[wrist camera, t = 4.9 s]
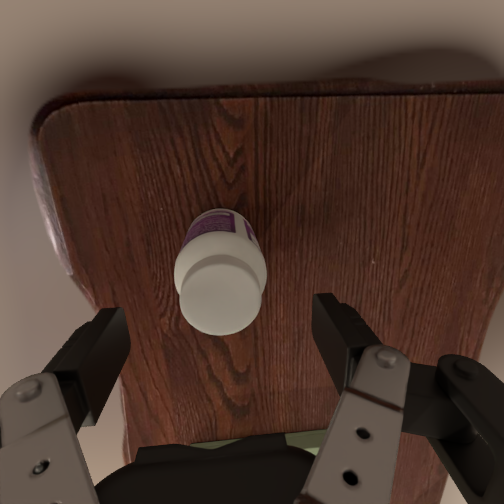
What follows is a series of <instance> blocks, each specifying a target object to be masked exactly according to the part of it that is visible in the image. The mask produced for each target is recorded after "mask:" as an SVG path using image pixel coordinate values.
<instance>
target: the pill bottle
mask: <svg viewBox="0 0 504 504" xmlns="http://www.w3.org/2000/svg"><path fill="white" fill-rule="evenodd" d="M266 278H267V271H266V264H265V260H264V258H263V255H262V253H261V250H260V247H259V244H258V242H257V239H256V236H255V234H254V232H253V229H252V227H251V225H250V224H249V222H248V221H247V220H246V219H245V218H244V217H243V216H242V215H240V214H239V213H237V212H235V211H232V210H229V209H213V210H209V211H207V212H205V213H203V214H201V215H200V216H198V217H197V218H196V219H195V220H194V222H193V223H192V224H191V226H190V228H189V230H188V232H187V235H186V237H185V240H184V242H183V245H182V248H181V250H180V253H179V255H178V257H177V259H176V263H175V270H174V280H175V285H176V288H177V291H178V293H179V295H180V307H181V311H182V313H183V315H184V317H185V318H186V320H187V321H188V322H189V323H190V324H191V325H192V326H193V327H195V328H196V329H198V330H200V331H202V332H204V333H207V334H211V335H228V334H232V333H236V332H238V331H240V330H242V329H244V328H245V327H247V326H248V325H249V324H250V323H251V322H252V321H253V320H254V319H255V317H256V316H257V314H258V312H259V309H260V306H261V295H262V293H263V290H264V288H265V284H266Z"/></svg>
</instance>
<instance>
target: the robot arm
mask: <svg viewBox="0 0 504 504" xmlns="http://www.w3.org/2000/svg"><path fill="white" fill-rule="evenodd" d="M312 334H313V338H314V341H315V343H316V345H317V347H318V349H319V352H320V354H321V356H322V358H323V360H324V363H325V365H326V367H327V369H328V371H329V374H330V376H331V378H332V380H333V382H334V385H335V387H336V389H337V391H338V393H339V396H340V399H339V402H338V404H337V407H336V409H335V412H334V414H333V416H332V419H331V421H330V424H329V426H328V429H327V431H326V433H325V436H324V438H323V441H322V443H321V446H320V448H319V450H318V453H317V455H314V454H313V453H311V452H309V451H306V450H304V449H302V448H298V447H295V446H290V445H287V442H286V437H285V432H283V433H274V434H264V435H255V436H248V437H246V438H243V439H240V440H237V441H235V442H232V443H229V444H226V445H224V446H221V447H218V448H215V449H205V448H199V447H193V446H187V445H181V444H168V445H158V446H148V447H139V448H138V452H137V455H136V459H135V462H132V463H130V464H128V465H126V466H124V467H122V468H120V469H118V470H116V471H115V472H113V473H111V474H110V475H109V476H107V477H106V478H104V479H103V480H102V481H100V482H99V483H98V484H97V485H96V486H94V485H93V482H92V479H91V476H90V473H89V470H88V467H87V464H86V461H85V458H84V455H83V453H82V450H81V447H80V444H79V441H78V438H77V433H78V431H79V429H80V427H86V426H95V425H96V423H97V421H98V418H99V416H100V414H101V412H102V410H103V408H104V406H105V404H106V402H107V399H108V397H109V395H110V393H111V391H112V389H113V387H114V384H115V382H116V380H117V378H118V376H119V374H120V372H121V370H122V368H123V365H124V363H125V361H126V359H127V357H128V355H129V352H130V345H131V342H130V335H129V331H128V326H127V322H126V317H125V313H124V310H123V308H122V307H116V308H103V309H101V310H100V311H99V312H98V313H97V315H96V316H95V318H94V319H93V320H92V321H90V322H87V323H85V324H84V325H82V326H81V327H79V328H78V329H76V330H75V332H74V333H73V334H72V335H71V337H70V338H69V340H68V341H66V343H65V344H64V345H63V346H62V348H61V349H60V350H59V351H58V352H57V354H56V355H55V356H54V357H53V358H52V360H51V361H50V362H49V363H48V364H47V366H46V367H45V368H44V370H43V371H42V372H41V373H38V374H34V375H31V376H29V377H26V378H24V379H22V380H20V381H18V382H16V383H15V384H13V385H12V386H11V387H9V388H8V389H7V390H6V391H5V392H4V393H3V395H2V396H1V398H0V504H390V497H391V491H392V485H393V478H394V472H395V465H396V459H397V453H398V446H399V440H400V434H401V432H406V433H411V434H416V435H421V436H426V438H427V439H428V441H429V442H430V444H431V446H432V447H433V449H434V450H435V452H436V454H437V455H438V457H439V458H440V460H441V462H442V463H443V465H444V466H445V468H446V470H447V471H448V473H449V474H450V476H451V477H452V479H453V481H454V482H455V484H456V485H457V487H458V489H459V491H460V492H461V494H462V495H463V497H464V499H465V500H466V502H467V503H468V504H504V383H503V382H502V381H500V380H499V379H498V378H497V377H496V376H495V375H494V374H493V373H492V372H491V371H490V370H488V369H487V368H486V367H485V366H484V365H482V364H481V363H479V362H477V361H475V360H473V359H470V358H468V357H465V356H461V355H455V354H448V355H443V356H441V357H440V358H439V360H438V364H437V367H436V366H430V365H423V364H416V363H411V362H410V361H409V359H408V358H407V357H406V355H404V354H403V353H402V352H401V351H399V350H397V349H395V348H393V347H390V346H386V345H383V344H382V343H381V341H380V340H379V339H378V337H377V336H376V335H375V334H374V332H373V331H372V330H371V329H370V327H369V326H368V325H366V322H365V321H364V320H363V319H362V318H361V316H360V315H359V314H358V312H357V311H356V310H355V309H354V308H352V307H351V306H349V305H347V304H346V303H341V304H340V303H339V302H338V300H337V299H336V297H335V296H334V295H333V293H320V294H314V295H313V305H312ZM480 435H481V436H480ZM484 440H485V441H486V442H485V441H484Z"/></svg>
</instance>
